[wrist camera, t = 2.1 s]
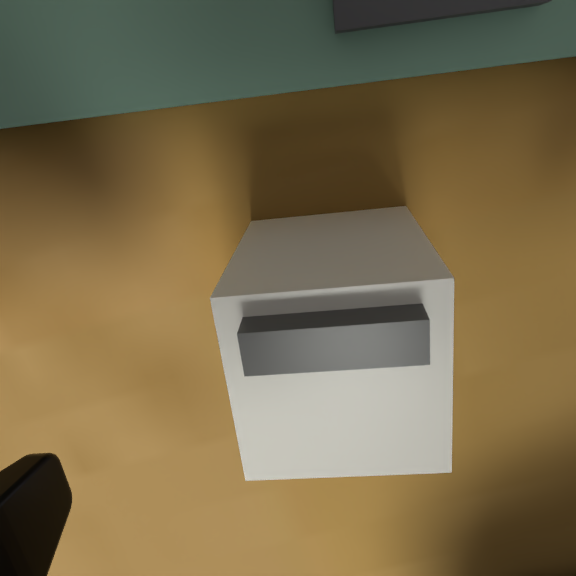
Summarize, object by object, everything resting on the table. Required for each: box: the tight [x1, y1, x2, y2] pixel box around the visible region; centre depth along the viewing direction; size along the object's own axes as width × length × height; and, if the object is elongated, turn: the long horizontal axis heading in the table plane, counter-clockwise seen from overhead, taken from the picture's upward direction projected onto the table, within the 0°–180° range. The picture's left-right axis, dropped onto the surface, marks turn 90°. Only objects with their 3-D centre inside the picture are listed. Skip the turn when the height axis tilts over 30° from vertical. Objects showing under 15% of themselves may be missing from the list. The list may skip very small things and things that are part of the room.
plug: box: [210, 206, 454, 481], centre depth 11 cm, size 4×4×6 cm
